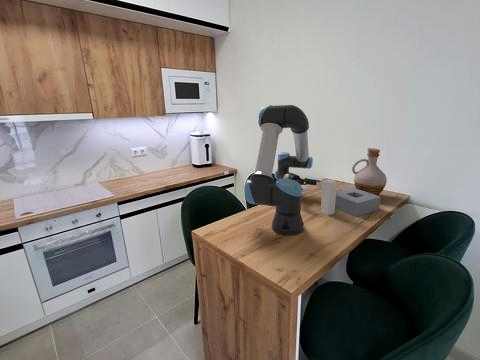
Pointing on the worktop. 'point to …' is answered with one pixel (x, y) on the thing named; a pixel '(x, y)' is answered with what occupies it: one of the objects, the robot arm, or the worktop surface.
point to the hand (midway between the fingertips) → (316, 188)
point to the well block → (356, 201)
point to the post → (328, 196)
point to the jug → (370, 174)
